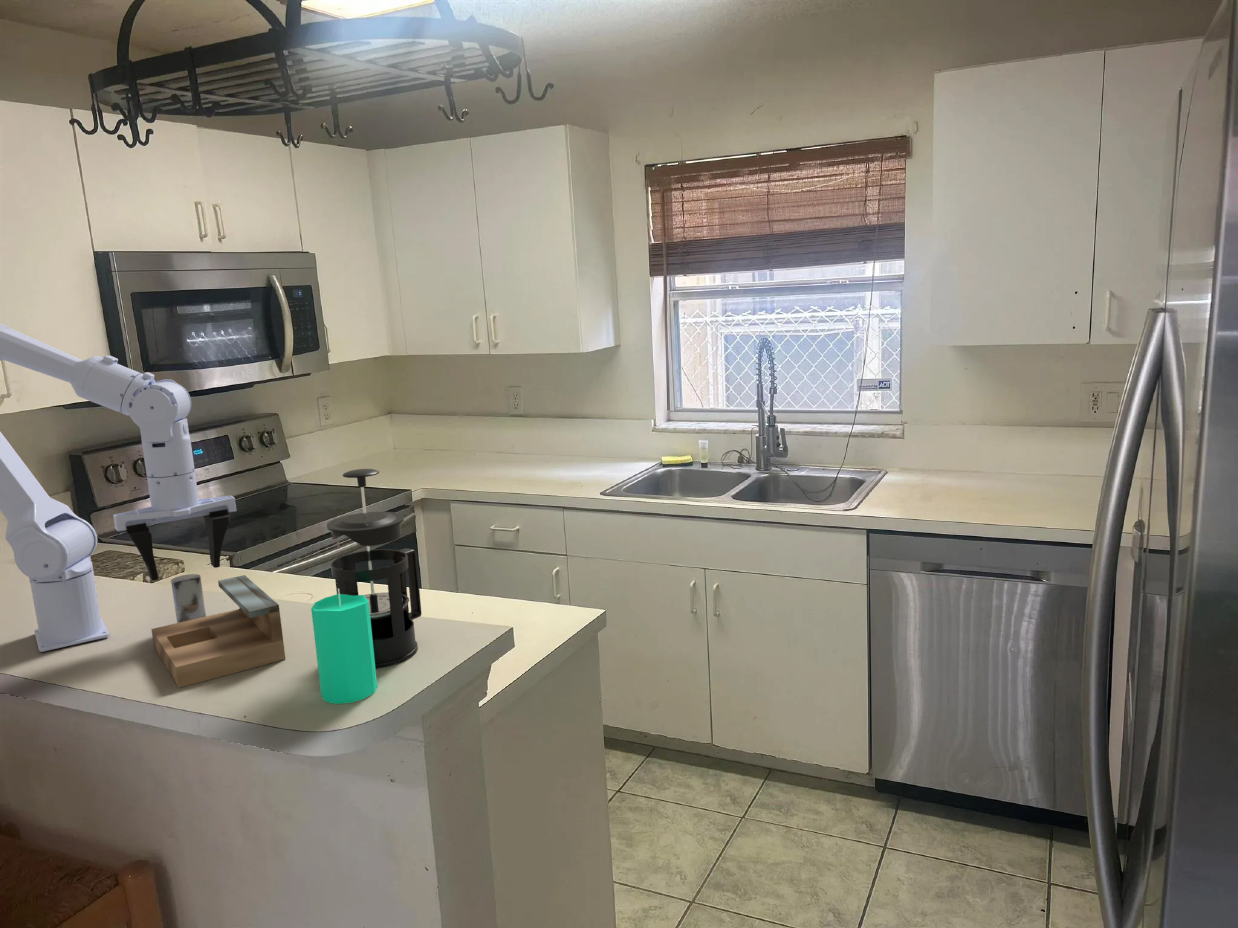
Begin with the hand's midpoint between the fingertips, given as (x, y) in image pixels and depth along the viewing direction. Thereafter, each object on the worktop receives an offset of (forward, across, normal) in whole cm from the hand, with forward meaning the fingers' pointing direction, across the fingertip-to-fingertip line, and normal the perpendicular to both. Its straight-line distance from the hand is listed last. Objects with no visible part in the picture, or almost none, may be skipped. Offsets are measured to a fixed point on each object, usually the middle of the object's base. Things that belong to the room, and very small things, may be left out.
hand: (185, 572), depth 121 cm
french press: (+8, +16, -26) cm, 32 cm away
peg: (+8, 0, 0) cm, 8 cm away
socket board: (+8, 0, -12) cm, 15 cm away
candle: (+8, +9, -35) cm, 37 cm away
